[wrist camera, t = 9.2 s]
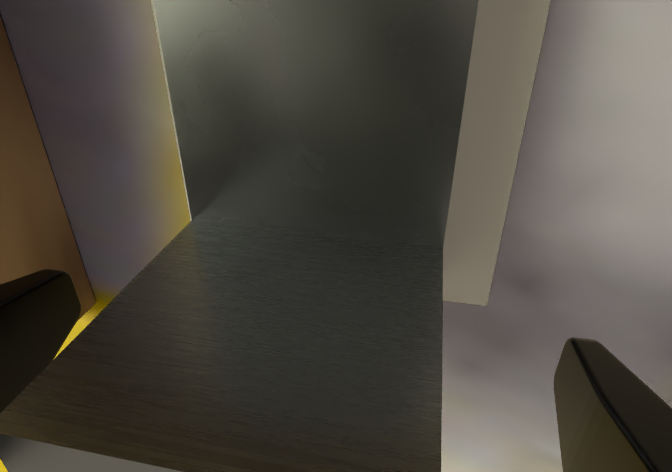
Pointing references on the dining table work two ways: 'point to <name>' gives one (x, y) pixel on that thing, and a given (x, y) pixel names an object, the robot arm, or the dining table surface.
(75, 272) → the brown l-shaped piece
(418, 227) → the bracket
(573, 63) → the dining table surface
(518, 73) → the beige flat tile
